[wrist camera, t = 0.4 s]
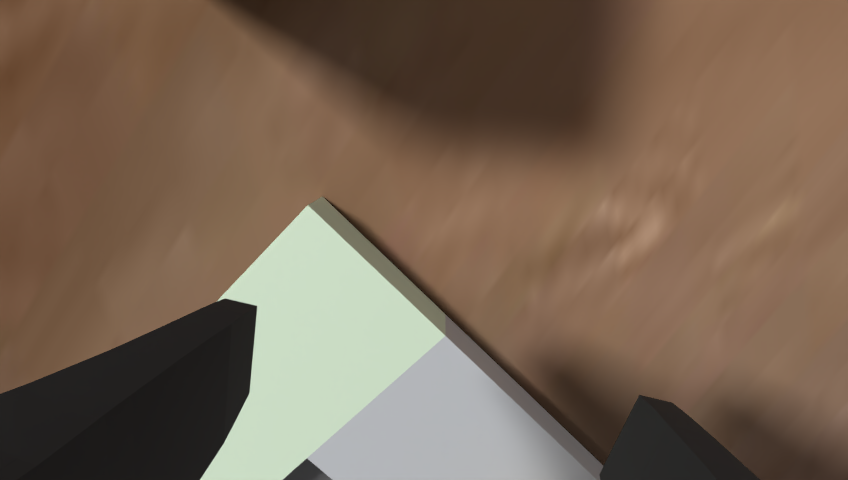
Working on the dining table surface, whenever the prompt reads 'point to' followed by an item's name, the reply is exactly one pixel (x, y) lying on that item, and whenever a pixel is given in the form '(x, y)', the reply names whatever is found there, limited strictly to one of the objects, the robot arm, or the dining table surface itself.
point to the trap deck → (374, 377)
